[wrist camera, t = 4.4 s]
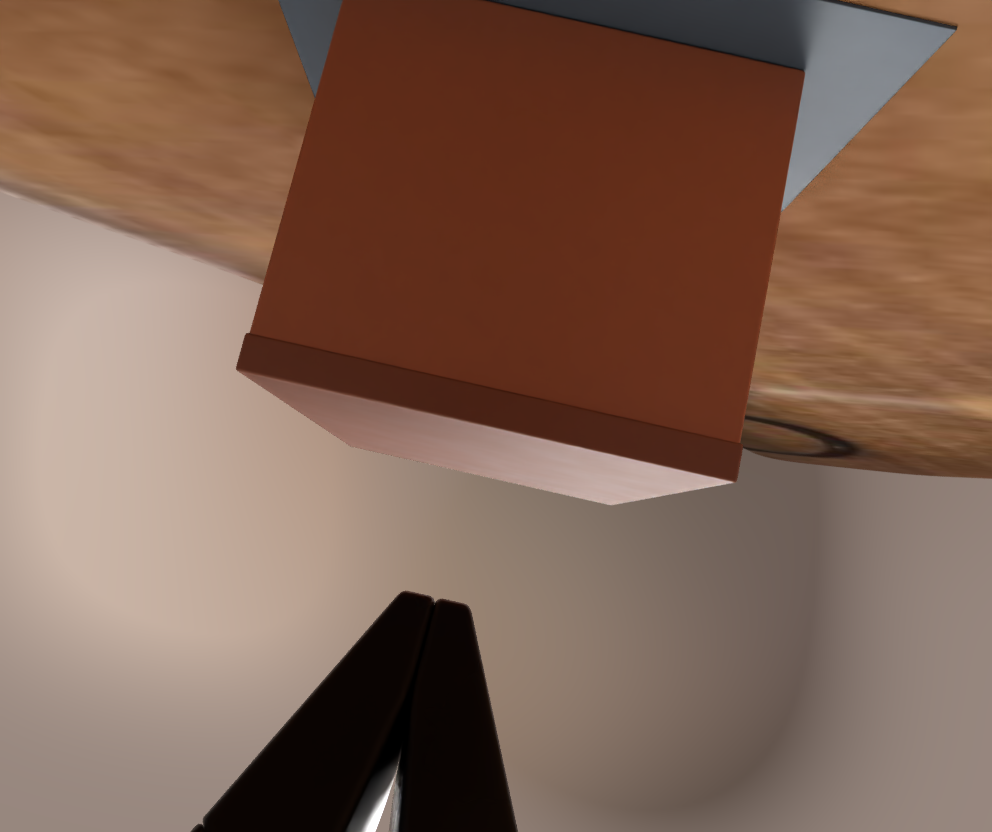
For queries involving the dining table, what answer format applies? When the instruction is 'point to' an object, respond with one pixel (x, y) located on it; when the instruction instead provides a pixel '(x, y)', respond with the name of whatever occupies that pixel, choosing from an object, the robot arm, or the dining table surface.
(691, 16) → the mat
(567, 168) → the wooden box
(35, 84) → the dining table surface
